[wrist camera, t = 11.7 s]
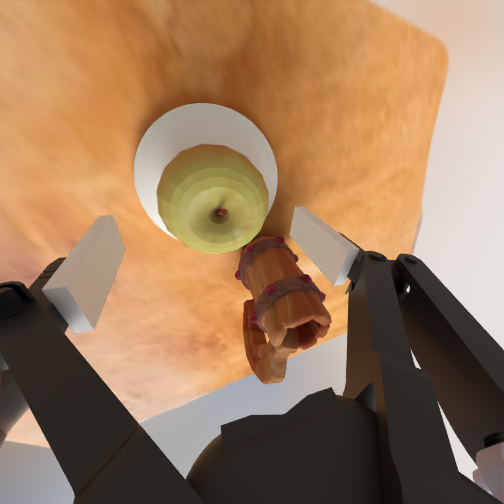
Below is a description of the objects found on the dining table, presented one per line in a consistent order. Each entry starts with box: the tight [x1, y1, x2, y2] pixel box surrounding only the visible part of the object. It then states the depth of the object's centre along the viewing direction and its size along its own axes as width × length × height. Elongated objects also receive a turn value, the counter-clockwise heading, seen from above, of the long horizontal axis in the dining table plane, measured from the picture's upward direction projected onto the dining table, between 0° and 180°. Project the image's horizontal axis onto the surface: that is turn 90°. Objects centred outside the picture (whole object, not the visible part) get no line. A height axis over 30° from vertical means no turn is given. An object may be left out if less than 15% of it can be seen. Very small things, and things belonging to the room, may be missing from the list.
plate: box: [134, 103, 278, 240], centre depth 22 cm, size 15×15×1 cm
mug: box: [235, 236, 332, 384], centre depth 25 cm, size 15×8×15 cm, turn 156°
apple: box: [156, 144, 269, 254], centre depth 18 cm, size 10×10×8 cm
